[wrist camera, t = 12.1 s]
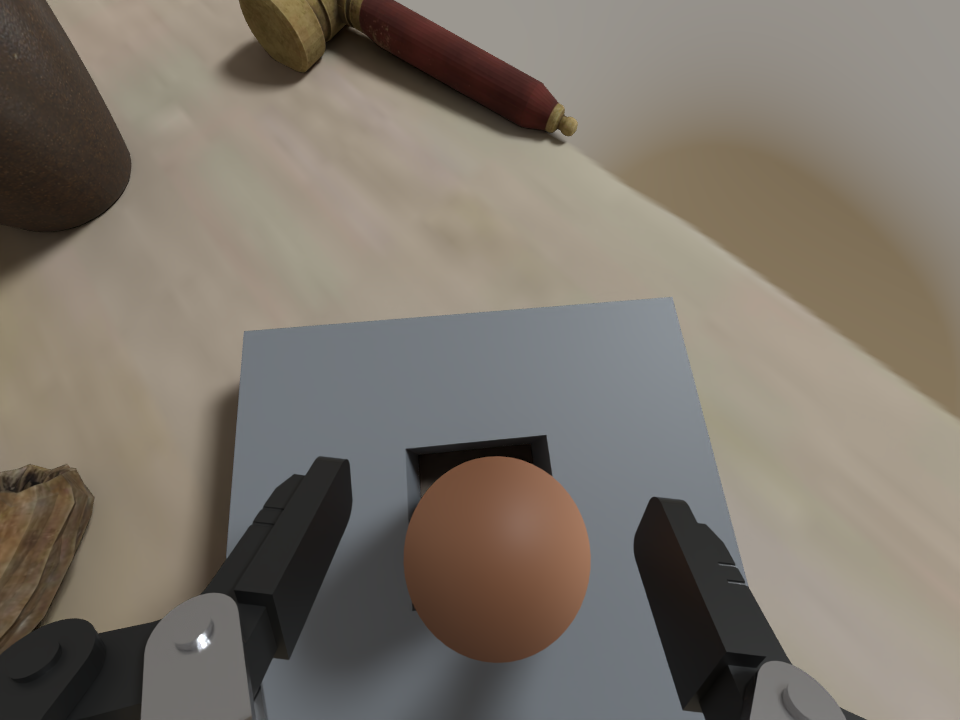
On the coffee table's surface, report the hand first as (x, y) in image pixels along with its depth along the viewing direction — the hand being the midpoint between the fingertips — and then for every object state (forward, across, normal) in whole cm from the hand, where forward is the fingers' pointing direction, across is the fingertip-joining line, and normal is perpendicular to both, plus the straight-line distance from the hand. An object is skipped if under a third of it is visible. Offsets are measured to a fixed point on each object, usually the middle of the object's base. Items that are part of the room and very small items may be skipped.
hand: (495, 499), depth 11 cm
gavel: (+24, +6, -12) cm, 28 cm away
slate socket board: (+5, 0, +6) cm, 8 cm away
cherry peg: (+5, 0, +6) cm, 8 cm away
